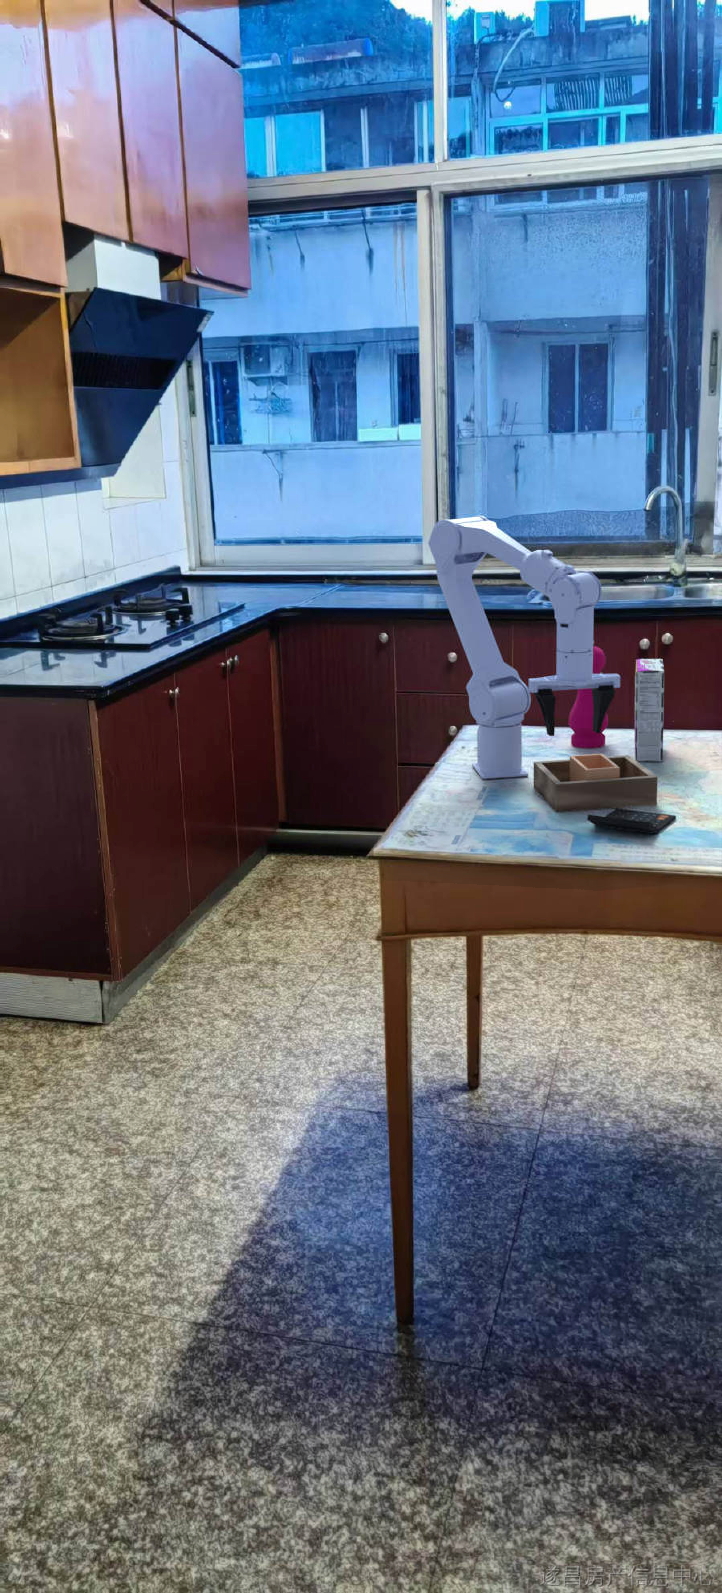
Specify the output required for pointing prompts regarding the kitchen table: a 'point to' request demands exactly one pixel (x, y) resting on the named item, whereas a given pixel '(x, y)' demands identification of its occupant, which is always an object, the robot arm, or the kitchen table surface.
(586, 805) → the walnut crate
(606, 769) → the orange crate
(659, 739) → the candy bar box
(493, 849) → the kitchen table surface
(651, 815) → the calculator
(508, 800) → the kitchen table surface
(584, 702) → the pepper mill
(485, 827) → the kitchen table surface
